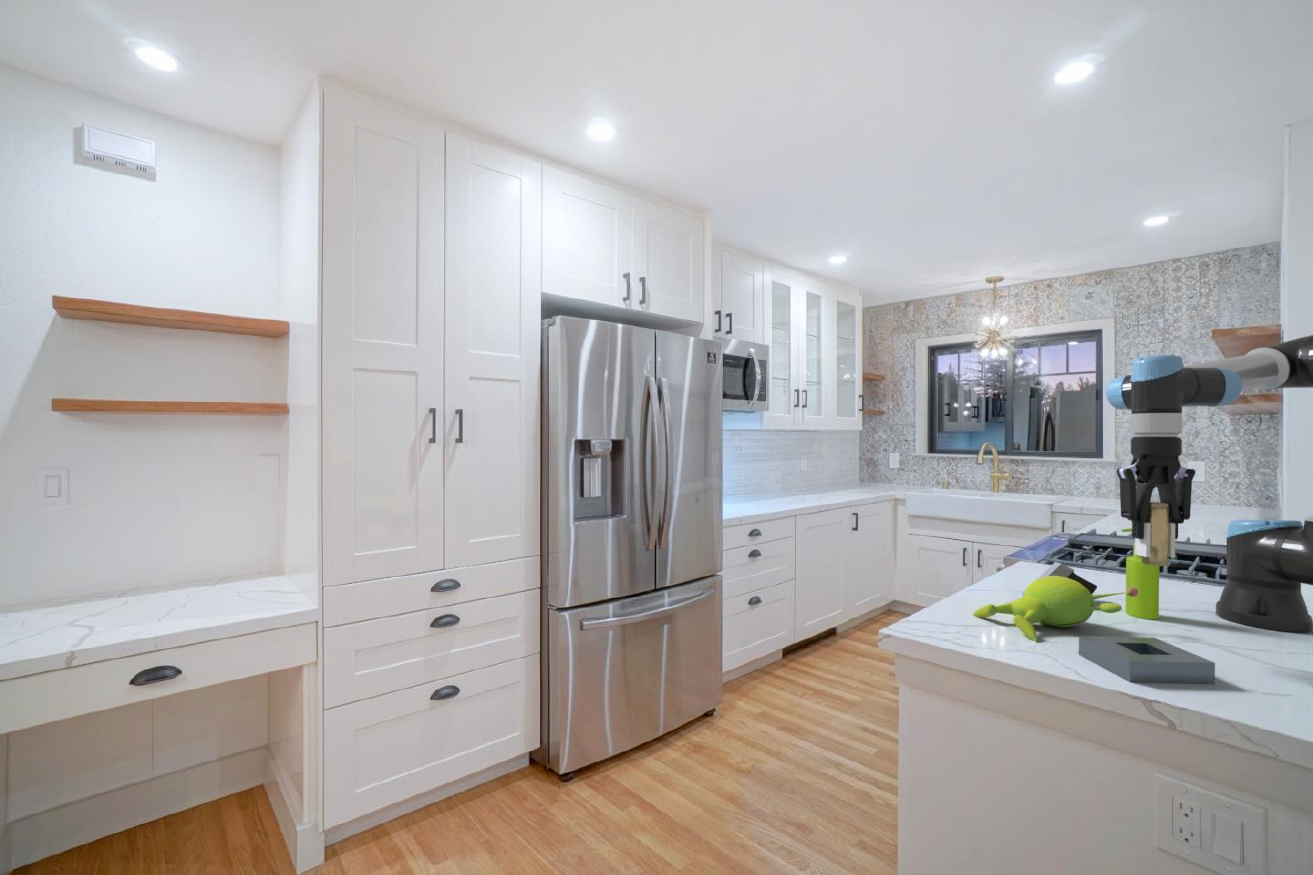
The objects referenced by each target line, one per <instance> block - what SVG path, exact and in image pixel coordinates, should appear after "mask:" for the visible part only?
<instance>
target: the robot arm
mask: <svg viewBox="0 0 1313 875" xmlns="http://www.w3.org/2000/svg"><path fill="white" fill-rule="evenodd" d="M1183 363H1184V362H1183V358H1182V357H1181V356H1179V355H1175V354H1164V355H1163V354H1162V355H1161V354H1160V355H1149V356H1142V357H1139V358H1136V359H1134V361H1132V367H1131V374H1128V375H1123V376H1118V377H1116V378H1113V379H1112V380H1110V382H1109V383H1108V384H1107V387H1106V391H1105V394H1106V395H1105V396H1106V399H1107V402H1108V403H1109V404H1110V405H1111V406H1112V407H1113V408H1115V409H1117V410H1127V411H1128V410H1129V411H1131V412H1130V413H1131V414H1130V433H1131V434H1132V435H1134V436H1132V437H1131V438H1130V454H1131V455H1132V457H1133V458H1132V461H1131V463H1130V465H1128V466H1126V467H1118V468H1116V475H1117V476H1118V479H1119V496H1120V499H1119V500H1120V501H1119V502H1120V517H1122V518H1123V519H1127V520H1128V521H1131V528H1132V532H1131V537H1132V538H1134V543H1135V554H1136V555H1140V556H1144V557H1150V533H1151V523H1146V519H1147V514H1148V510H1149V505H1150V501H1152V496H1153V490H1154V489H1155V488H1157V491H1158V497H1159V502H1165V503H1169V555H1168V558H1176V540H1178V538H1179V524H1181V525H1182V524H1183V523H1184V522H1185V520H1190V519H1191V507H1192V504H1191V503H1192V487H1193V485H1192V484H1193V479H1194V477H1195V475H1196V470H1195V469H1194V468H1187V467H1184V466H1182V464H1181V461H1180V459H1179V457H1180V456H1181V455H1182V452H1183V449H1182V448H1183V445H1182V444H1183V439H1182V438H1181V437H1179V435H1182V433H1183V407H1184V408H1187V407H1189V408H1190V407H1207V408H1209V407H1210V408H1211V407H1213V408H1215V407H1222V406H1223V407H1224V406H1228V405H1229V404H1232V403H1233V402H1235V401H1236V400H1237V399H1239V397H1240V396H1241V394H1242V392H1243V391H1244V390H1250V389H1256V390H1261V391H1269V390H1274V389H1276V390H1277V389H1290V388H1291V389H1294V388H1297V389H1299V388H1300V389H1301V388H1304V389H1305V388H1313V334H1312V335H1308V336H1303V337H1299V338H1295V339H1291V340H1288V341H1283V342H1281V343H1276V344H1272V345H1268V346H1264V347H1259V348H1255V349H1252V350H1250V351H1248V352H1247V353H1246V354H1244V355H1240V356H1239V355H1238V356H1234V357H1228V358H1222V359H1217V360H1212V361H1206V362H1199V363H1195V364H1189V365H1184V364H1183ZM1227 527H1228V528H1227V532H1226V534H1227V535H1226V536H1225V539H1226V582H1225V585H1224V587H1223V589H1222V592H1221V594H1220V597H1219V600H1217V601H1216V604H1215V614H1216V616H1218V617H1220V618H1222V619H1225V620H1228V621H1230V622H1235V623H1238V624H1242V625H1245V626H1246V625H1247V626H1250V627H1256V628H1262V629H1267V630H1268V629H1269V630H1274V631H1282V632H1283V631H1284V632H1292V633H1293V632H1295V633H1297V632H1298V633H1304V632H1311V631H1312V630H1313V617H1312V616H1311V615H1310V614H1309V611H1308V607H1307V604H1306V602H1305V598H1304V597H1303V594H1302V584H1304V585H1309V586H1313V515H1311V516H1309V517H1307V518H1306V517H1305V519H1304V523H1302V521H1300V520H1294V519H1293V520H1292V519H1291V520H1290V519H1282V520H1281V519H1236V520H1232V521H1231V522H1230V523H1229V524H1228V526H1227Z"/></svg>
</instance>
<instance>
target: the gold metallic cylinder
mask: <svg viewBox="0 0 1313 875" xmlns="http://www.w3.org/2000/svg"><path fill="white" fill-rule="evenodd" d="M1146 523H1151V533H1150V557H1144V556H1141V563H1143V564H1147V565H1153V566H1159V567H1169V557H1168V555H1169V503H1165V502H1160V501H1152V500H1151V501H1150V505H1149V510H1148V514H1147V519H1146Z"/></svg>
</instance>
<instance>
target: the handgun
mask: <svg viewBox="0 0 1313 875" xmlns="http://www.w3.org/2000/svg"><path fill="white" fill-rule="evenodd" d="M1046 576H1061V577H1066V578H1069V579H1072V580H1075V581H1077V582H1079V583H1080V584H1082V585H1083V586H1084V587H1085V588H1087V589H1088V591H1089V592H1090V593H1091V595H1094V593H1095V591H1096V590H1097V589H1098V585H1096V584H1094V583H1093V582H1090V581H1089V580H1087V579H1085V578H1083V577H1081V576H1079V575H1078V574H1076V573H1075V569H1074V568H1071V567H1069V566H1068V565H1066V564H1063V563H1061V562H1057V561H1054V563H1052V564H1051V566H1049V567H1048V568H1047V569H1046V570H1045V571H1044V572H1043V573H1042V574H1041V575H1040V576H1039V577H1038V578H1037V579H1039V578H1042V577H1046ZM1024 592H1025V590H1024V591H1023V592H1022V593H1021V594H1022V597H1024Z"/></svg>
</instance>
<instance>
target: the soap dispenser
mask: <svg viewBox="0 0 1313 875" xmlns="http://www.w3.org/2000/svg"><path fill="white" fill-rule="evenodd" d="M1120 530H1121V532H1123V533H1132V527H1128V528H1127V527H1126V528H1122V529H1120ZM1132 546H1133V549H1132V550H1133V552H1132V553H1133V555H1132V556H1126V558H1125V559H1126V562H1125V565H1126V566H1125V569H1126V570H1125V590H1126V589H1127V588H1128V587H1134V588H1136V589H1137V590H1138V595H1137V596H1135V597H1131V596H1129V595H1127V594H1126V593H1125V614H1126V613H1127V614H1129V615H1128V616H1130V615H1131V617H1133V616H1135V617H1134V618H1137V617H1138V619H1142V618H1143V620H1152V619H1154V620H1158V619H1160V618H1159V614H1160V613H1159V612H1160V566H1153V565H1147V564H1143V563H1141V556H1140V555H1136V554H1135V542H1134V543H1133V545H1132ZM1127 614H1126V615H1127Z"/></svg>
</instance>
